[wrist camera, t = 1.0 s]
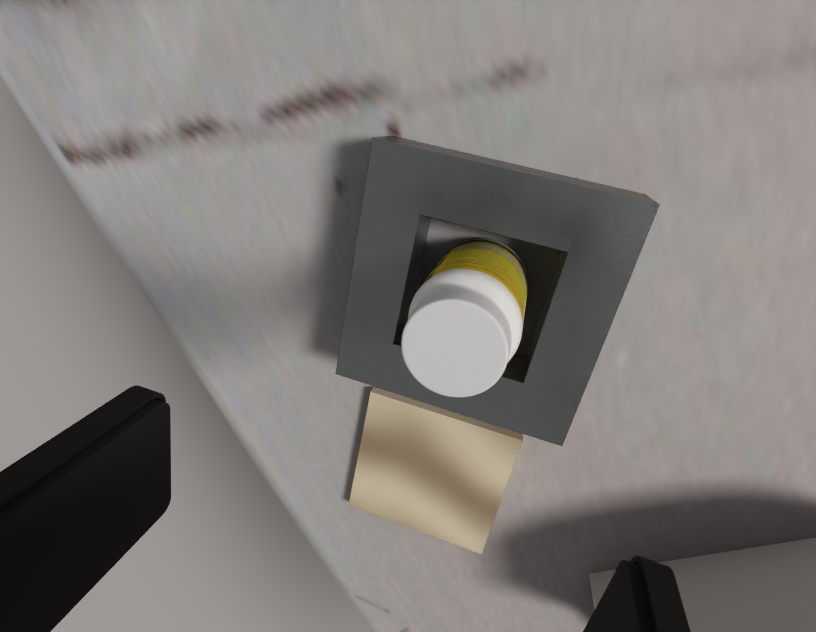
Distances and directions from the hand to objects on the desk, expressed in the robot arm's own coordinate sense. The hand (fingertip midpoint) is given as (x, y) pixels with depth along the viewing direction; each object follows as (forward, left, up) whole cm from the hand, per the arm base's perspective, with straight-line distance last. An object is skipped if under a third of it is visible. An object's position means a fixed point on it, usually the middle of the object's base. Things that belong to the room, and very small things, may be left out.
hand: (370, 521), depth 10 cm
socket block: (0, 0, -17) cm, 17 cm away
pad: (-13, 0, -17) cm, 21 cm away
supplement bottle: (0, 0, -18) cm, 18 cm away
